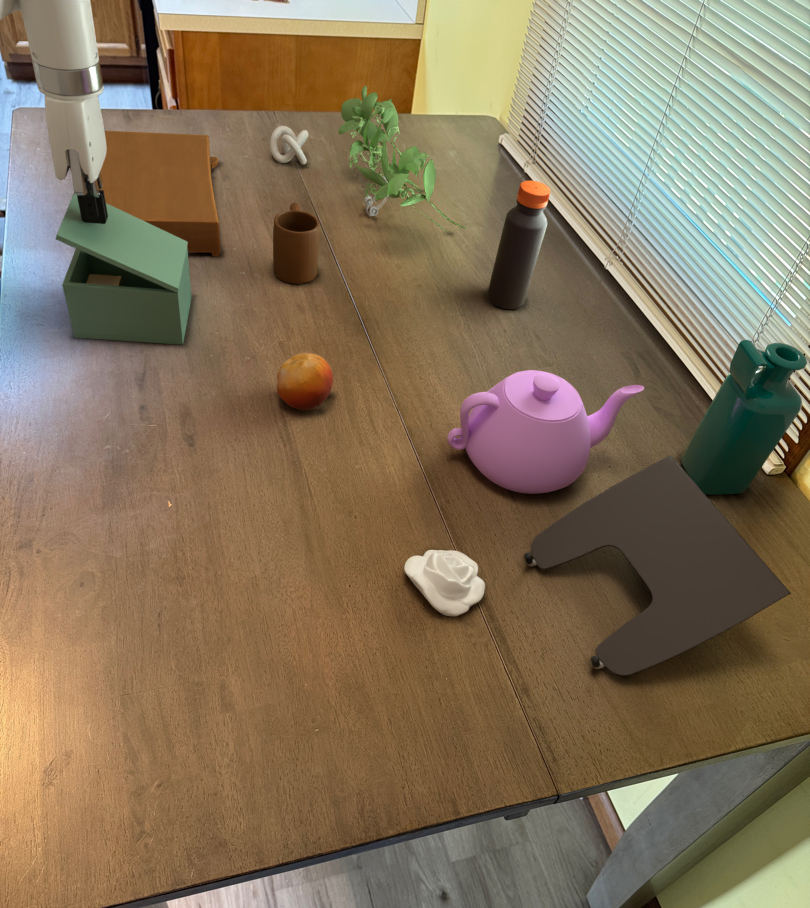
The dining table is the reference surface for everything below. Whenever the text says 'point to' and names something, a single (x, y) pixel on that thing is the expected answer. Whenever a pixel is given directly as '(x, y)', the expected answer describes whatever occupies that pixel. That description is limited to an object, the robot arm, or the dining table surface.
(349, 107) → the plant cuttings
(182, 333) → the chest
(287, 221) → the mug
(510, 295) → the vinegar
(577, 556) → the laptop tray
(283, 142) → the knot
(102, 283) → the block
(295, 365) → the fruit
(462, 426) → the teapot
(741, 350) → the dark green tall bottle
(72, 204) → the lid
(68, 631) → the dining table surface
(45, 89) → the robot arm
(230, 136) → the dining table surface
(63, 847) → the dining table surface
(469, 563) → the rose
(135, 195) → the wooden box
